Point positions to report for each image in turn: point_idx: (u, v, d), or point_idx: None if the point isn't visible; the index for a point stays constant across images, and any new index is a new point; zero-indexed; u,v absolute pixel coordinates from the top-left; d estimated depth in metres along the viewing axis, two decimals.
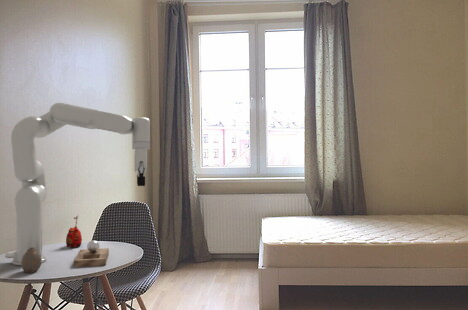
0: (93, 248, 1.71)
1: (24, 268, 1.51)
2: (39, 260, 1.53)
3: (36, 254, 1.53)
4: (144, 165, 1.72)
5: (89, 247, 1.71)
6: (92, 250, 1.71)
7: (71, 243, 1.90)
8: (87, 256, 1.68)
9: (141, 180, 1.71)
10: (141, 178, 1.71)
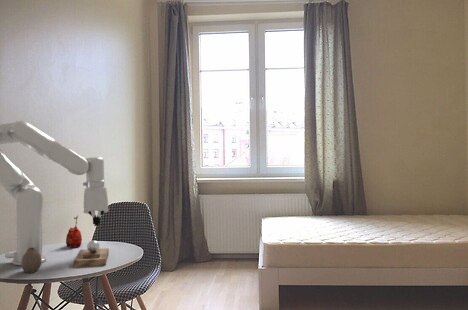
0: (93, 248, 1.71)
1: (24, 268, 1.51)
2: (39, 260, 1.53)
3: (36, 254, 1.53)
4: None
5: (89, 247, 1.71)
6: (92, 250, 1.71)
7: (71, 243, 1.90)
8: (87, 256, 1.68)
9: (99, 220, 1.81)
10: (99, 218, 1.81)
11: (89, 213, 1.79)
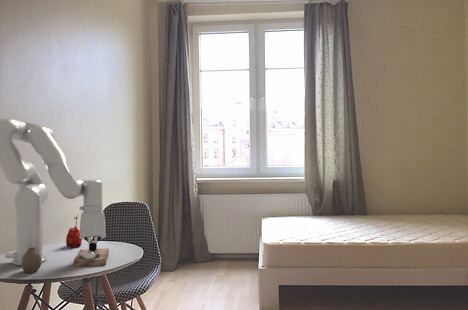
0: None
1: (24, 268, 1.51)
2: (39, 260, 1.53)
3: (36, 254, 1.53)
4: None
5: None
6: None
7: (71, 243, 1.90)
8: None
9: (96, 246, 1.71)
10: (96, 244, 1.71)
11: (85, 239, 1.69)
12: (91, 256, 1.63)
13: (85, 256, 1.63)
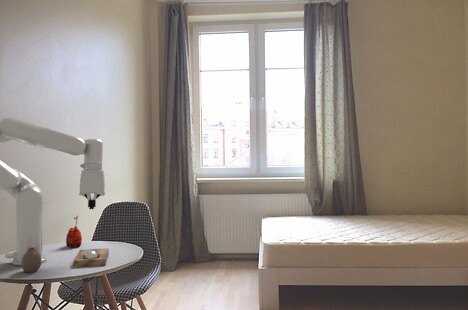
0: None
1: (24, 268, 1.51)
2: (39, 260, 1.53)
3: (36, 254, 1.53)
4: (104, 186, 1.80)
5: None
6: None
7: (71, 243, 1.90)
8: None
9: (95, 203, 1.78)
10: (95, 201, 1.78)
11: (85, 195, 1.76)
12: (93, 257, 1.63)
13: (88, 255, 1.63)
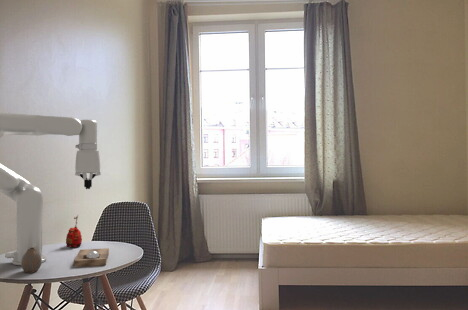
0: None
1: (24, 268, 1.51)
2: (39, 260, 1.53)
3: (36, 254, 1.53)
4: None
5: None
6: None
7: (71, 243, 1.90)
8: None
9: (91, 183, 1.80)
10: (91, 181, 1.80)
11: (81, 176, 1.78)
12: None
13: (90, 254, 1.63)
